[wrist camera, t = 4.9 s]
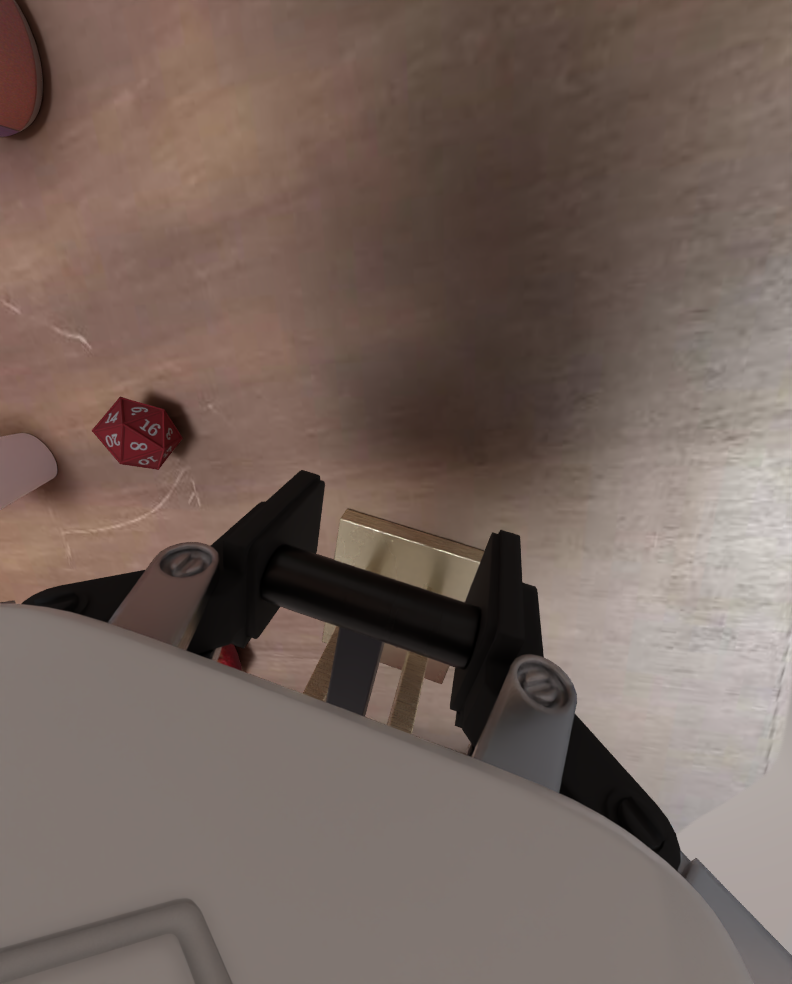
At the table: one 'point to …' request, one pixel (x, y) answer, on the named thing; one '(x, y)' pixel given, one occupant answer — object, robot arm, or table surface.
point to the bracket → (411, 563)
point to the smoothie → (23, 466)
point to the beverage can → (18, 71)
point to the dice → (138, 434)
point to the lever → (368, 618)
